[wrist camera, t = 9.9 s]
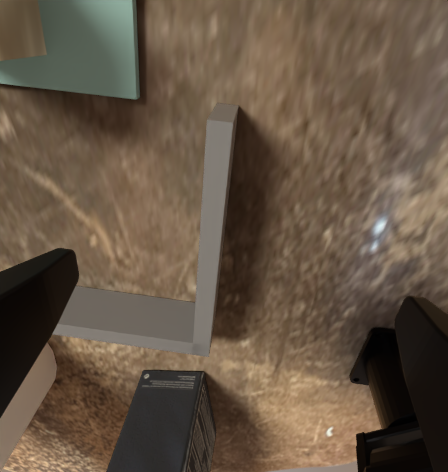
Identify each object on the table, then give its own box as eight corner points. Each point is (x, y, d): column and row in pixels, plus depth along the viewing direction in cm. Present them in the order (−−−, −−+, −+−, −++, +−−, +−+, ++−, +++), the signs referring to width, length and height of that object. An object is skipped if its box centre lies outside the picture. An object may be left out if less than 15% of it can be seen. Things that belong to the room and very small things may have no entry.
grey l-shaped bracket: (215, 316, 27) (208, 357, 24) (-82, 274, 28) (-128, 308, 25) (238, 105, 19) (233, 122, 15) (-191, 54, 20) (-285, 61, 16)
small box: (138, 367, 32) (90, 497, 23) (205, 368, 31) (182, 504, 22) (160, 429, 38) (128, 553, 29) (217, 431, 37) (203, 560, 28)
